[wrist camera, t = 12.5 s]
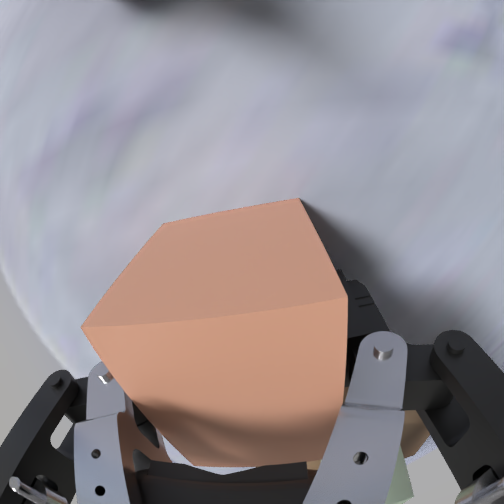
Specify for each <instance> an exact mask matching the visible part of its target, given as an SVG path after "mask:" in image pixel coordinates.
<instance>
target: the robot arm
mask: <svg viewBox="0 0 504 504" xmlns="http://www.w3.org/2000/svg"><path fill="white" fill-rule="evenodd" d="M336 272H337V275H338V277H339V279H340V281H341V283H342V285H343V287H344V290H345V292H346V294H347V296H348V325H347V353H346V370H345V384H344V388H345V387H349V389H348V393H347V396H346V399H345V402H344V403H343V404H342V406H341V408H340V411H339V414H338V417H337V420H336V423H335V426H334V429H333V432H332V434H331V437H330V440H329V443H328V445H327V448H326V451H325V453H324V456H323V458H322V461H321V463H320V466H319V468H318V470H312V469H307V462H306V461H304V462H297V463H287V464H276V465H264V466H260V467H257V468H253V469H249V470H245V471H240V472H236V473H231V474H226V475H220V474H215V473H212V472H208V471H205V470H201V469H198V468H195V467H192V466H189V465H186V464H179V463H172V461H171V460H170V458H169V456H168V455H167V452H166V449H165V445H164V442H163V438H162V434H161V433H160V432H159V431H158V430H157V429H156V428H155V427H154V426H153V424H152V423H151V422H150V421H149V420H148V419H147V418H146V417H145V415H144V414H143V413H142V412H141V411H140V410H139V409H138V407H137V406H136V405H135V404H134V403H133V401H132V400H131V399H130V398H129V396H128V395H127V394H126V393H125V391H124V390H123V389H122V387H121V386H120V385H119V384H118V382H117V381H116V380H115V378H114V377H113V375H112V374H111V373H110V371H109V370H108V369H107V367H106V366H105V364H104V363H103V361H102V362H100V363H98V364H97V365H96V366H94V368H93V369H92V370H91V371H90V373H89V376H88V377H85V378H80V379H74V378H73V376H72V375H71V374H70V373H69V372H68V371H67V370H59V371H56V372H54V373H53V374H51V375H50V376H49V377H48V378H47V380H46V381H45V382H44V384H43V385H42V386H41V388H40V389H39V391H38V392H37V393H36V395H35V396H34V397H33V399H32V400H31V401H30V403H29V404H28V406H27V407H26V409H25V410H24V411H23V413H22V415H21V416H20V417H19V419H18V420H17V422H16V423H15V425H14V426H13V428H12V429H11V431H10V433H9V434H8V436H7V437H6V439H5V440H4V442H3V443H2V445H1V447H0V504H70V503H71V501H72V499H73V497H74V495H75V493H76V495H77V503H78V504H385V501H386V498H387V495H388V492H389V488H390V485H391V481H392V477H393V473H394V469H395V465H396V461H397V456H398V452H399V447H400V442H401V437H402V431H403V425H404V417H405V410H416V412H417V413H418V415H419V417H420V418H421V420H422V421H423V423H424V425H425V426H426V428H427V430H428V431H429V433H430V435H431V436H432V438H433V440H434V442H435V443H436V445H437V447H438V448H439V450H440V452H441V454H442V456H443V457H444V459H445V461H446V463H447V464H448V466H449V468H450V470H451V472H452V473H453V475H454V477H455V479H456V481H457V483H458V485H459V486H460V489H461V490H462V491H461V492H460V493H459V495H458V496H457V498H456V501H455V504H504V373H503V372H502V371H501V369H500V368H499V367H498V366H497V365H496V364H495V363H494V362H493V360H492V359H491V358H490V357H489V356H488V355H487V354H486V353H485V352H484V351H483V350H482V348H481V347H480V346H479V345H478V344H477V343H476V342H475V341H474V340H473V339H472V338H471V337H470V336H469V335H467V334H466V333H464V332H461V331H457V330H450V331H445V332H443V333H441V334H440V335H439V336H438V337H437V338H436V340H435V343H434V345H411V344H406V342H405V341H404V339H403V338H402V337H400V336H399V335H397V334H395V333H392V332H390V331H389V329H388V327H387V325H386V323H385V321H384V319H383V317H382V315H381V314H380V312H379V310H378V308H377V306H376V304H374V301H373V299H372V297H371V296H370V294H369V292H368V290H367V288H366V287H365V286H364V285H363V284H361V283H360V282H358V281H357V280H352V281H346V279H345V277H344V275H343V273H342V271H341V270H340V269H338V270H336ZM64 415H65V416H66V417H67V418H68V419H69V420H70V421H71V422H72V423H73V425H72V427H71V428H70V430H69V432H68V433H67V435H66V437H65V439H64V440H63V442H62V444H61V445H60V447H59V448H57V449H55V448H54V447H53V446H52V445H51V442H50V437H51V435H52V433H53V432H54V430H55V428H56V427H57V425H58V424H59V422H60V420H61V419H62V417H63V416H64Z"/></svg>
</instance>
